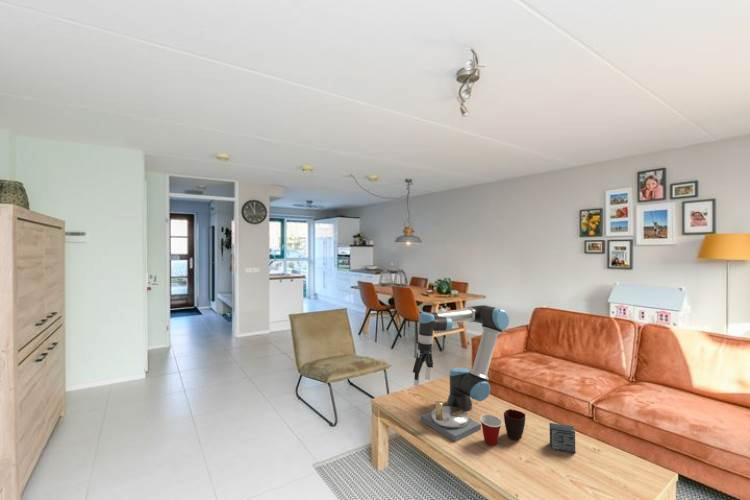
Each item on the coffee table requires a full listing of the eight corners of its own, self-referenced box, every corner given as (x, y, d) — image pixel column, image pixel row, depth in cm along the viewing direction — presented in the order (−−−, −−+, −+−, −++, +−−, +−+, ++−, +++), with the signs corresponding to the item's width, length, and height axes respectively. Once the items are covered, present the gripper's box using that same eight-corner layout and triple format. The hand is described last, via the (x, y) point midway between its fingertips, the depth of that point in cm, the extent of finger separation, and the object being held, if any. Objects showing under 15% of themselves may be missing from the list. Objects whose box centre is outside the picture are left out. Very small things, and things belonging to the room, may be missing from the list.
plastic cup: (493, 451, 168) (493, 427, 168) (475, 441, 177) (475, 418, 177) (507, 444, 174) (507, 420, 174) (488, 434, 183) (488, 412, 183)
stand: (420, 420, 198) (420, 415, 198) (445, 410, 210) (445, 405, 210) (455, 441, 177) (455, 435, 177) (480, 429, 188) (480, 423, 188)
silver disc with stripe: (459, 409, 205) (459, 389, 204) (474, 426, 185) (474, 405, 185) (426, 412, 201) (426, 392, 201) (438, 430, 182) (438, 408, 181)
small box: (572, 446, 172) (572, 425, 172) (575, 453, 166) (575, 432, 166) (549, 442, 176) (549, 421, 176) (551, 449, 170) (551, 428, 169)
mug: (501, 437, 180) (501, 414, 180) (511, 426, 191) (511, 405, 190) (521, 444, 174) (521, 421, 174) (530, 433, 184) (530, 410, 184)
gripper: (428, 337, 199) (425, 375, 199) (408, 345, 178) (404, 386, 178) (440, 340, 195) (438, 378, 195) (421, 348, 174) (418, 390, 174)
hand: (422, 382), depth 186 cm, fingers open, 13 cm apart
